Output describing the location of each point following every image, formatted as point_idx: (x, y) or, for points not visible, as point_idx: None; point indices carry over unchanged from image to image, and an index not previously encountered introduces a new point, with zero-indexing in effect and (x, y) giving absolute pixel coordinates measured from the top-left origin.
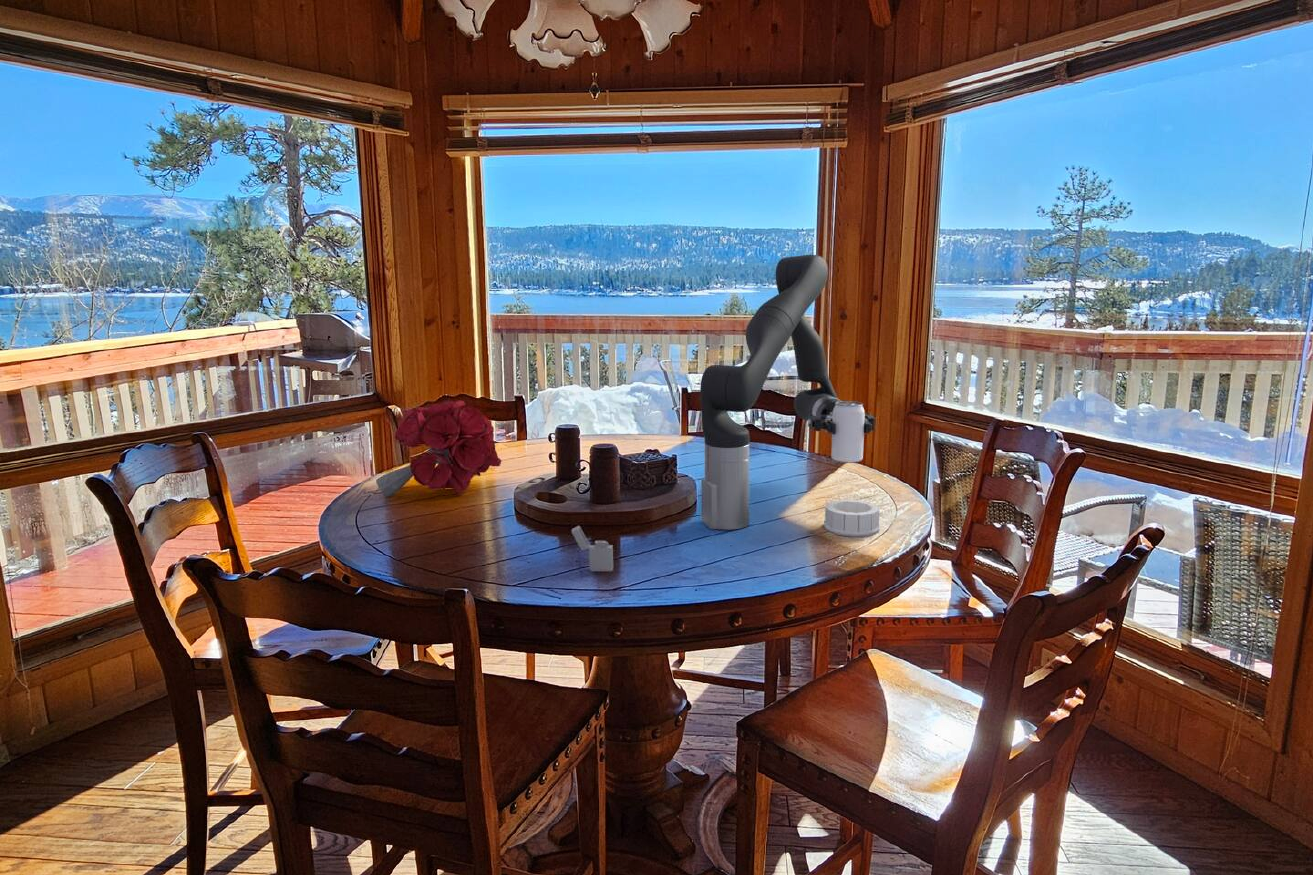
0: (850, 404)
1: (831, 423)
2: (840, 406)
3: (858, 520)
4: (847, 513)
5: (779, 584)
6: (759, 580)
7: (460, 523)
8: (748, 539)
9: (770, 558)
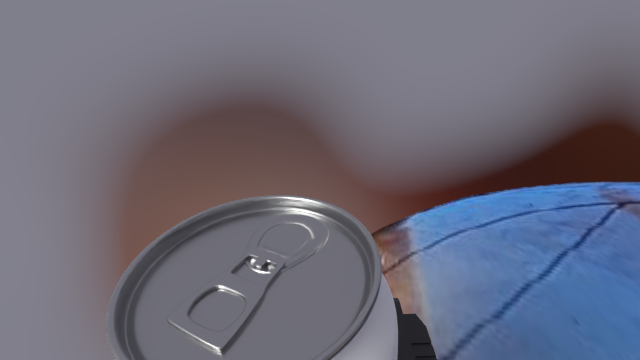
0: (236, 274)
1: (402, 315)
2: (345, 222)
3: None
4: None
5: (446, 214)
6: (471, 221)
7: None
8: (559, 354)
9: (478, 271)
